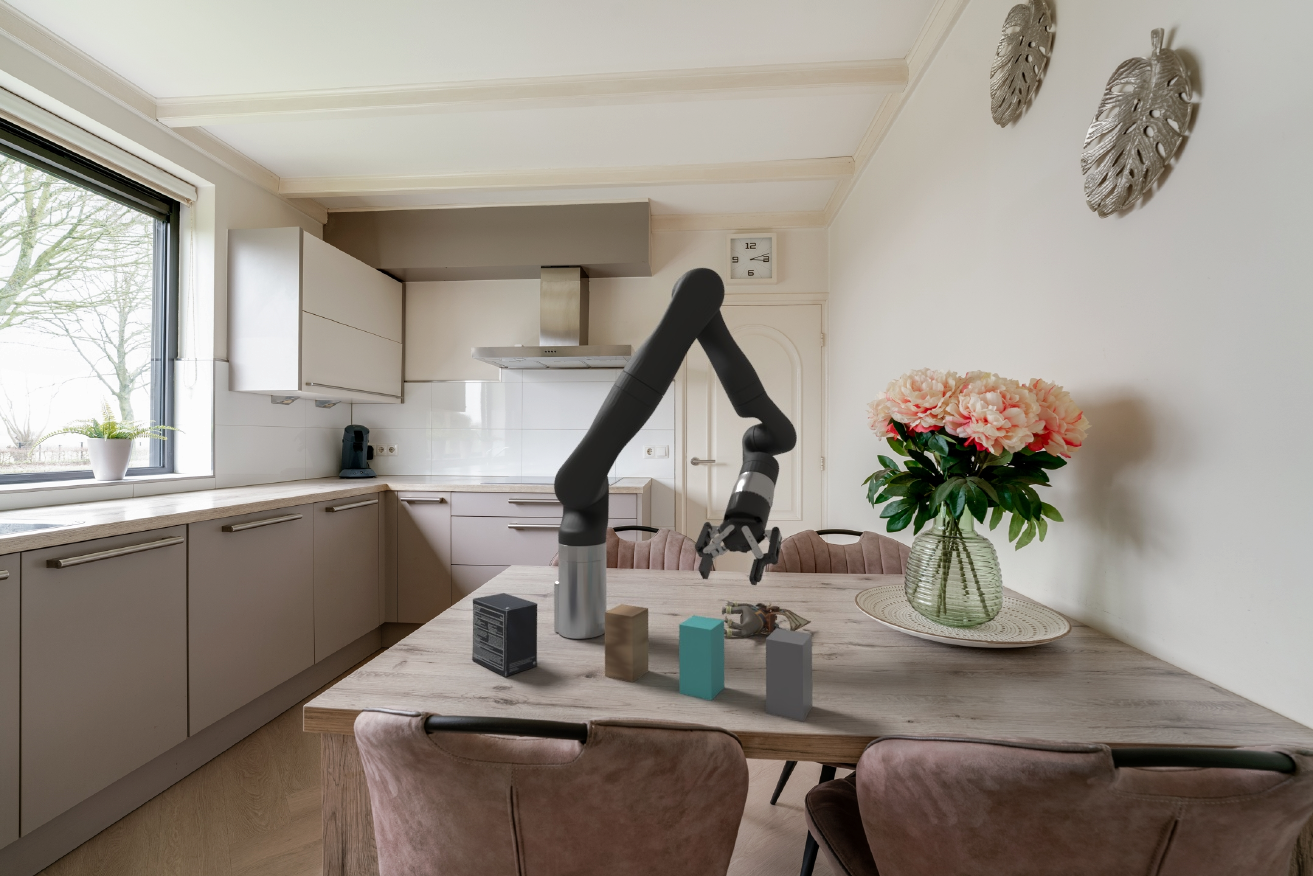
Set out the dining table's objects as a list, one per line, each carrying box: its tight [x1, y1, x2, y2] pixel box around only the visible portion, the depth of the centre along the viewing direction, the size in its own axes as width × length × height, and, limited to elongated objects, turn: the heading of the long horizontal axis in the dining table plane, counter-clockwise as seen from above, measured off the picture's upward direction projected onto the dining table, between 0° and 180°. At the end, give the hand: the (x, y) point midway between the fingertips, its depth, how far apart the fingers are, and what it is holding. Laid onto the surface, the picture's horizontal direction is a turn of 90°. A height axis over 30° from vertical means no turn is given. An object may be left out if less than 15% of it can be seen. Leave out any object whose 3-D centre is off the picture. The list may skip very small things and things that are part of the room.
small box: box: [471, 592, 538, 678], centre depth 95 cm, size 11×6×10 cm, turn 47°
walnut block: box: [604, 603, 649, 683], centre depth 90 cm, size 5×5×10 cm
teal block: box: [678, 614, 725, 701], centre depth 84 cm, size 5×5×10 cm
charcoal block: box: [765, 628, 813, 722], centre depth 78 cm, size 5×5×10 cm
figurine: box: [721, 600, 812, 638], centre depth 110 cm, size 20×6×17 cm
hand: (727, 579), depth 93 cm, fingers open, 8 cm apart
